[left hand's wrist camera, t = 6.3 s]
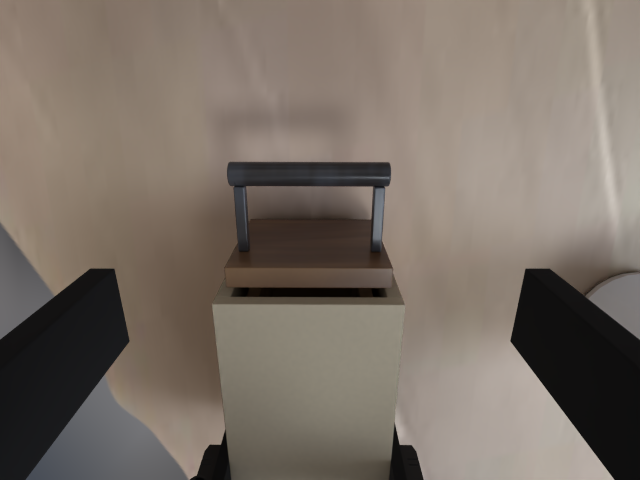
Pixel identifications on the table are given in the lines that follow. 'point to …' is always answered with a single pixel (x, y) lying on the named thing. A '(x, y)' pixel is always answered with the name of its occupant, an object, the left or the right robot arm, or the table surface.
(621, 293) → the mug
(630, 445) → the left robot arm
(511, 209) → the table surface
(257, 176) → the drawer
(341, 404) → the cabinet
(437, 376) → the table surface
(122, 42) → the table surface
